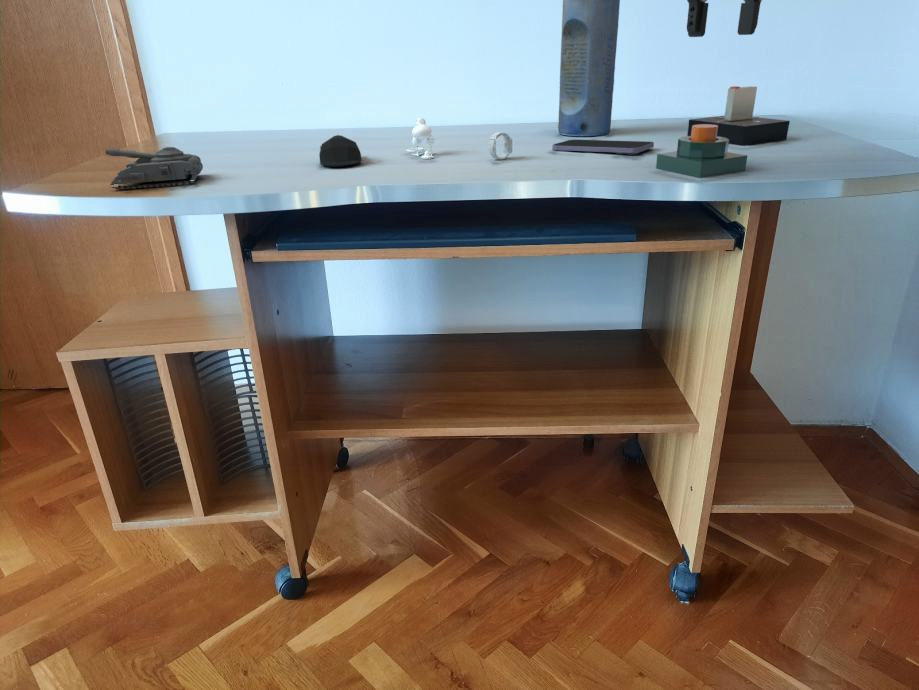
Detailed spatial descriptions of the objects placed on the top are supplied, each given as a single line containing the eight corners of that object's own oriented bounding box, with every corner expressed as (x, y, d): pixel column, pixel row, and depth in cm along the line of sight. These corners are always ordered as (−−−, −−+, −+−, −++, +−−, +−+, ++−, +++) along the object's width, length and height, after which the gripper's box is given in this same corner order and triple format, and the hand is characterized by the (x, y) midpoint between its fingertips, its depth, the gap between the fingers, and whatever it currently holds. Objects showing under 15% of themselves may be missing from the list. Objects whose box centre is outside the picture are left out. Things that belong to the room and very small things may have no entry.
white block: (745, 118, 108) (750, 84, 106) (752, 118, 107) (757, 85, 105) (723, 120, 106) (728, 86, 104) (730, 121, 105) (735, 87, 103)
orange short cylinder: (721, 142, 83) (723, 125, 82) (703, 144, 82) (705, 128, 81) (703, 139, 86) (705, 123, 85) (685, 141, 85) (686, 125, 84)
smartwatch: (493, 161, 97) (493, 133, 95) (485, 159, 98) (485, 132, 97) (512, 158, 99) (513, 131, 97) (504, 157, 100) (504, 130, 98)
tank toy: (107, 193, 86) (96, 153, 84) (122, 180, 94) (112, 143, 92) (201, 185, 89) (192, 146, 86) (207, 173, 97) (200, 137, 95)
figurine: (432, 148, 110) (431, 114, 108) (439, 158, 101) (437, 121, 99) (406, 150, 109) (403, 116, 107) (410, 160, 101) (407, 123, 98)
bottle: (547, 134, 120) (551, -52, 107) (581, 128, 126) (589, -49, 113) (587, 138, 114) (597, -59, 101) (621, 132, 119) (634, -56, 106)
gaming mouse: (357, 152, 110) (354, 127, 108) (363, 167, 97) (360, 139, 95) (320, 154, 109) (317, 130, 107) (320, 170, 96) (317, 142, 94)
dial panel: (786, 139, 105) (790, 119, 103) (742, 146, 101) (745, 125, 100) (729, 132, 115) (731, 113, 113) (686, 137, 111) (689, 118, 109)
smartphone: (571, 139, 109) (656, 141, 101) (571, 146, 110) (655, 149, 101) (549, 145, 104) (637, 148, 95) (549, 152, 104) (637, 156, 96)
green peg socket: (745, 171, 84) (750, 139, 82) (699, 178, 81) (703, 145, 79) (699, 162, 90) (703, 132, 89) (655, 168, 87) (658, 138, 86)
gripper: (720, -130, 69) (701, 37, 76) (811, -122, 74) (785, 33, 81) (671, -115, 75) (657, 38, 82) (758, -109, 80) (738, 34, 87)
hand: (721, 35), depth 82 cm, fingers open, 8 cm apart
